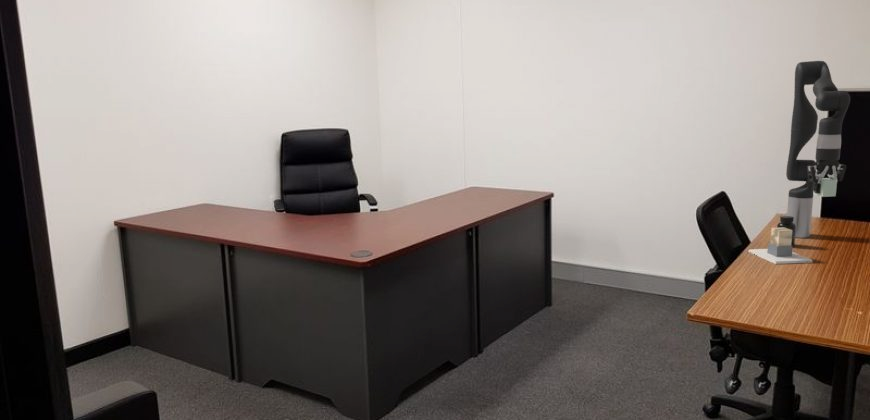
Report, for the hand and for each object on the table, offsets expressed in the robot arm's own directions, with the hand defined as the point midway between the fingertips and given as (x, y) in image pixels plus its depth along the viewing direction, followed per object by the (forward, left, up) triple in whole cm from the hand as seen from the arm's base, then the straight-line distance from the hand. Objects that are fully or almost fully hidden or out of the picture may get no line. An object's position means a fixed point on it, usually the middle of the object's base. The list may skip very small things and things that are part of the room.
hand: (824, 192), depth 228 cm
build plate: (-5, -12, -25) cm, 29 cm away
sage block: (0, 0, -1) cm, 1 cm away
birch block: (-5, -12, -20) cm, 24 cm away
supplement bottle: (-22, +1, -26) cm, 34 cm away
